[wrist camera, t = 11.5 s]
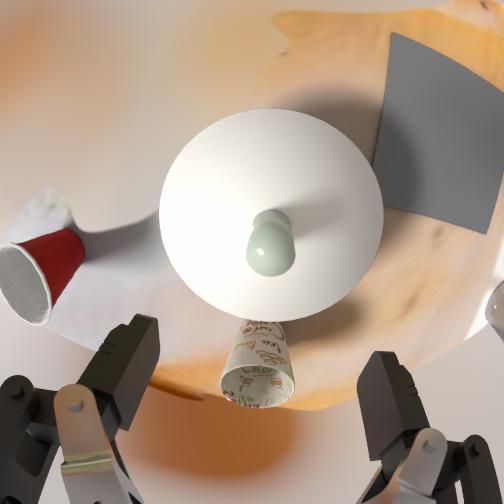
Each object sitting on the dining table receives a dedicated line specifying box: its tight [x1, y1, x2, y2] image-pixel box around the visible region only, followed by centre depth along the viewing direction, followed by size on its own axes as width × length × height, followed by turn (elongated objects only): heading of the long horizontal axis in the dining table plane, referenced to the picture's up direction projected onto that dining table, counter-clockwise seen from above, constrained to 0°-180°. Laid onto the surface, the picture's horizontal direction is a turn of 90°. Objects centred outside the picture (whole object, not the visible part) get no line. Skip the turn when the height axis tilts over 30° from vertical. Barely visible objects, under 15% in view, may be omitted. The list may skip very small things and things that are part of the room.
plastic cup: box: [0, 229, 85, 326], centre depth 29 cm, size 11×11×12 cm
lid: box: [159, 109, 384, 322], centre depth 21 cm, size 19×19×6 cm
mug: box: [220, 319, 295, 408], centre depth 34 cm, size 8×13×10 cm, turn 151°
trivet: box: [371, 32, 504, 235], centre depth 24 cm, size 20×20×1 cm
